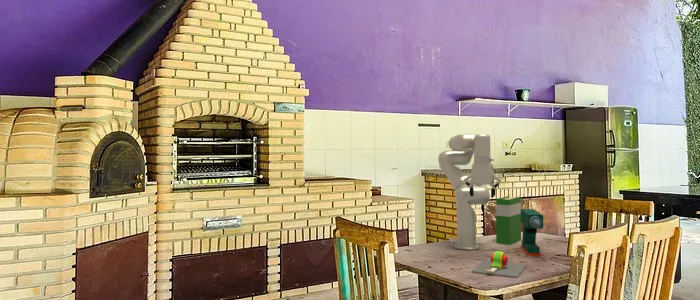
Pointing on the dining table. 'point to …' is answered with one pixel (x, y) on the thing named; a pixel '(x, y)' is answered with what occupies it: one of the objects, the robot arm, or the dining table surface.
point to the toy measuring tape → (498, 261)
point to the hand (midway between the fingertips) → (482, 196)
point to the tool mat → (506, 271)
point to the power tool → (531, 231)
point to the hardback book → (508, 220)
